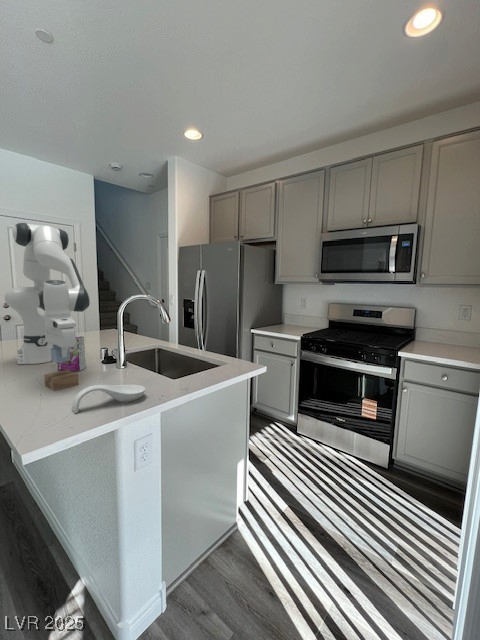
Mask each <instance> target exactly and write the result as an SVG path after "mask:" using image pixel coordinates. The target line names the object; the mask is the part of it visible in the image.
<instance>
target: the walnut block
mask: <svg viewBox="0 0 480 640" xmlns="http://www.w3.org/2000/svg"><path fill="white" fill-rule="evenodd" d="M44 386H45V387H46V388H48V389H50V390H51V391H53V392H56V391H60V390H64V389H67V388H71V387H77V386H79V373H77V372H76V371H70V370H64V371H63V370H58V371H54V372H51V373H50V372H49V373H45V374H44Z"/></svg>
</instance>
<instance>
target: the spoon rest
mask: <svg viewBox="0 0 480 640" xmlns="http://www.w3.org/2000/svg"><path fill="white" fill-rule="evenodd" d="M96 391H100V392H103V393H105V394H106V395H109V396H110V397H112V398H113V399H115V400H116V401H118V402H120V403H130V402H134V401H135V400H138V399H139V398H140V397H142V396H143V395H144V394H145V392H146V387H144V386H143V385H139V384H119V385H118V384H115V385H113V384H112V385H110V384H95V385H91V386H87V387H85V388H84V389H82V390H80V391H79V392H78V393H77V394H76V395H75V397H74V398H73V401H72V404H71V409H72V410H73V411H72V412H74V414H77V413H79V412H80V411H79V410H80V409H79V408H80V402H81V401H82V399H83V398H84V397H85V396H86V395H88V394H89V393H92V392H96Z"/></svg>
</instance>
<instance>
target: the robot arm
mask: <svg viewBox="0 0 480 640" xmlns="http://www.w3.org/2000/svg"><path fill="white" fill-rule="evenodd" d="M68 235H69V233H67V232H66V231H65V230H64V229H61V228H55V227H53V226H51V225H44V224H43V225H41V224H33V223H26V222H17V224H15V226H14V228H13V230H12V237H13V239H14V242H15V243H16V244H17V245H19V246H21V247H24V254H23V267H22V273H23V275H24V277H25V278H27V279H28V280H30V281H33V283H34V286H18V287H13V288H9V289H8V290H6V292H5V294H4V302H5V304H6V305H7V306H8V307H9V308H11V309H12V310H14V311H15V312H17V314H18V315H19V317H20V318H21V321H22V323H23V331H24V335H23V340H22V341H23V344H22V346H21V347H20V348H19V349H17V350H16V351H17V352H16V353H17V355H19V356H16V357H15V360H16V363H17V365H36V364H44V363H49V362H53V361H52V360H51V348H57V347H59V346H61V349H62V350H61V357H63V358H64V357H67V351H68V348H70V347H74V346H75V342H76V336H77V335H76V327H77V322H76V320H74V319H73V317H72V316H71V315H72V314H71V312H78V313H79V312H81V313H82V312H84V311H85V310H87V309H88V308H89V307H90V304H91V303H90V302H91V300H90V296H89V292H88V290H87V289H86V288H85V285H84V282H83V279H82V278H81V275H80V272H79V270H78V268H77V265H76V263H75V261H74V260H73V259H72V258H71V257H70V256H68V255H67V254H66V253H65V250H66V249H67V248H68V246H69V242H70V238H69V236H68ZM51 270H53V271H57V272H59V273H62V274H64V275H66V276H67V277H68V279H69V282H70V285H71V287H72V288H69V287H68V284H67V282H66V281H64V280H60V279H52V278H51ZM38 309H42V310H43V311H44V314H43V315H42V314H41V313H39V311H38Z"/></svg>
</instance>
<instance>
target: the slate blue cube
mask: <svg viewBox="0 0 480 640" xmlns="http://www.w3.org/2000/svg"><path fill="white" fill-rule="evenodd" d="M61 350H62V349H61V347H57V348H51V360H52V361H51V362H54V363H56V364H58V362H64V361H69V360H70V348H68V351H67V357H64V358H63V357H61Z"/></svg>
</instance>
